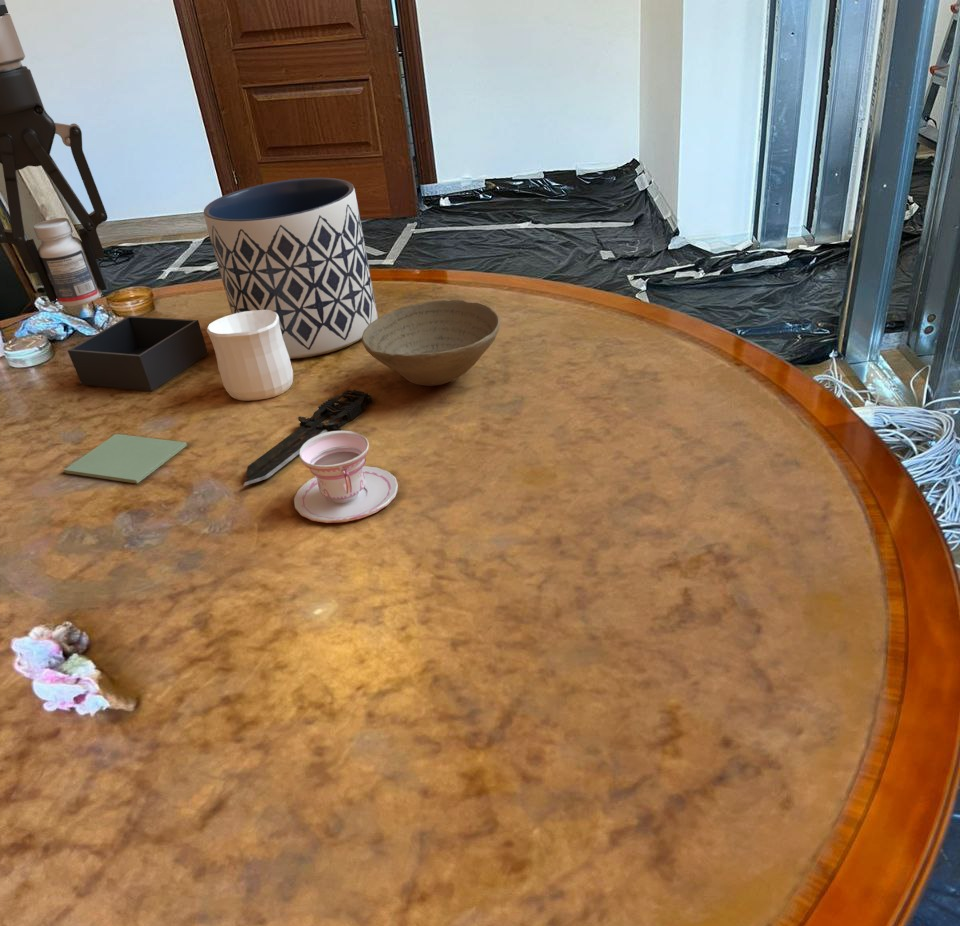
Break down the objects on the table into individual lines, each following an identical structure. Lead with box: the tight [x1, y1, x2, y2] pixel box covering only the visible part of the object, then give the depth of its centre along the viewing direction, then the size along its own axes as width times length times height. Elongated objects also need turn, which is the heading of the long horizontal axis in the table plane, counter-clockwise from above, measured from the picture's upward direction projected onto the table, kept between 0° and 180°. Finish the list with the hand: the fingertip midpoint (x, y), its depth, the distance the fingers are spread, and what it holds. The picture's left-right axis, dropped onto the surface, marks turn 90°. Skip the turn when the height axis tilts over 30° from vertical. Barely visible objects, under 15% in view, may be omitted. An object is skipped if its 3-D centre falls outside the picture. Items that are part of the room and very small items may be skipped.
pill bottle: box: [33, 217, 103, 307], centre depth 106 cm, size 5×5×9 cm
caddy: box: [67, 315, 209, 392], centre depth 137 cm, size 14×14×5 cm
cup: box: [206, 310, 294, 402], centre depth 125 cm, size 10×10×10 cm
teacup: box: [293, 429, 399, 524], centre depth 99 cm, size 12×12×6 cm
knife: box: [242, 389, 373, 487], centre depth 113 cm, size 25×6×1 cm, turn 147°
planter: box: [203, 177, 379, 360], centre depth 136 cm, size 22×22×20 cm
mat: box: [63, 433, 188, 484], centre depth 114 cm, size 12×10×1 cm
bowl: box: [361, 299, 501, 387], centre depth 121 cm, size 18×18×8 cm
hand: (77, 292), depth 108 cm, fingers closed on pill bottle, 5 cm apart
